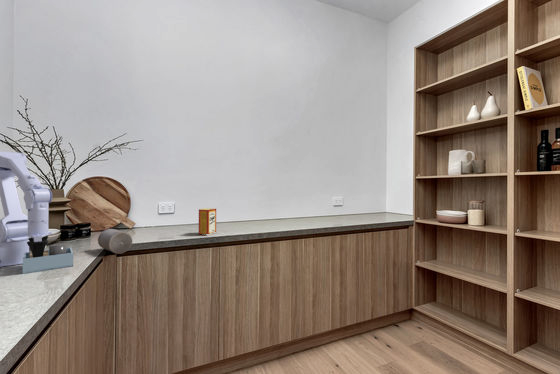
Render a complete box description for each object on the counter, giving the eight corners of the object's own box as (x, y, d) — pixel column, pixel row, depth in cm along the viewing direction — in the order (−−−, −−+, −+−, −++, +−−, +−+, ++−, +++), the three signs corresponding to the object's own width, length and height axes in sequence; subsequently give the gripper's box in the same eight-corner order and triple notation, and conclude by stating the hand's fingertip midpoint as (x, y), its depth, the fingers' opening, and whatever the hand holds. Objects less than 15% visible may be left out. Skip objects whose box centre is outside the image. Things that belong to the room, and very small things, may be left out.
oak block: (48, 266, 99) (48, 252, 99) (29, 269, 96) (29, 255, 96) (48, 263, 103) (48, 250, 103) (30, 265, 100) (30, 252, 100)
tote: (22, 273, 92) (22, 259, 92) (24, 265, 101) (24, 252, 101) (73, 266, 101) (73, 252, 101) (71, 259, 110) (71, 247, 110)
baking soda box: (207, 232, 174) (207, 207, 174) (216, 233, 172) (216, 208, 172) (198, 235, 165) (198, 208, 165) (207, 235, 163) (208, 209, 163)
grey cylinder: (67, 263, 103) (66, 245, 102) (49, 266, 99) (49, 247, 99) (66, 260, 106) (65, 242, 106) (49, 263, 103) (49, 245, 103)
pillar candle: (114, 251, 130) (128, 256, 121) (93, 245, 123) (106, 251, 114) (123, 231, 134) (137, 235, 124) (103, 225, 127) (116, 229, 117)
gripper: (52, 222, 96) (52, 260, 96) (52, 218, 107) (52, 252, 107) (25, 224, 92) (25, 264, 92) (27, 219, 103) (27, 255, 103)
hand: (38, 258), depth 99 cm, fingers open, 7 cm apart
